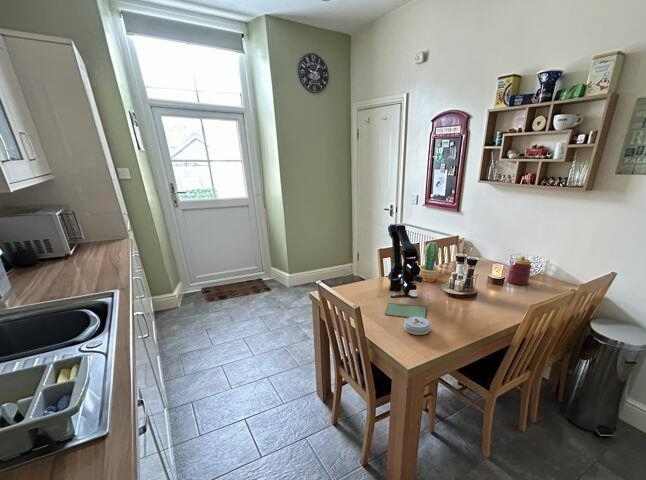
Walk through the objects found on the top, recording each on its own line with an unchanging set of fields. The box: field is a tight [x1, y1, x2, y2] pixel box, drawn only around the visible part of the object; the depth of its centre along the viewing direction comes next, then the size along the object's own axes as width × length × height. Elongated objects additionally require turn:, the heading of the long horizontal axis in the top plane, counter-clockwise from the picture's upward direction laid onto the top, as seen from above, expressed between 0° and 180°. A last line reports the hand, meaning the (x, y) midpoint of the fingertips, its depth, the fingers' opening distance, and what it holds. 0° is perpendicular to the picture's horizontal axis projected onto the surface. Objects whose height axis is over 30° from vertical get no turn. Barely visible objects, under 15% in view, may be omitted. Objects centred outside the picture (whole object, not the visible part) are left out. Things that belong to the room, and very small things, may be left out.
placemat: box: [385, 302, 427, 319], centre depth 173 cm, size 20×14×1 cm
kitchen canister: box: [506, 255, 533, 286], centre depth 214 cm, size 13×13×18 cm
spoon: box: [389, 292, 419, 300], centre depth 184 cm, size 16×5×2 cm, turn 98°
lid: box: [403, 316, 432, 336], centre depth 153 cm, size 13×13×5 cm
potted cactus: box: [418, 241, 442, 283], centre depth 213 cm, size 15×15×25 cm
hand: (405, 295), depth 184 cm, fingers closed on spoon, 2 cm apart
